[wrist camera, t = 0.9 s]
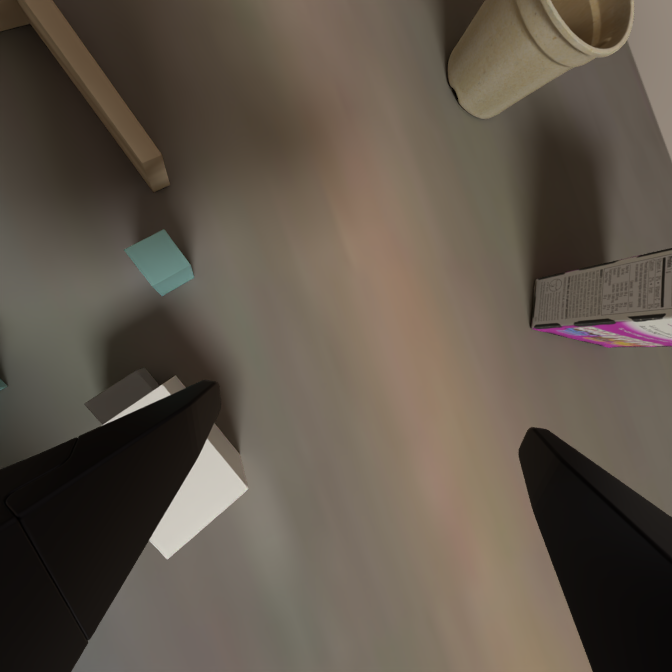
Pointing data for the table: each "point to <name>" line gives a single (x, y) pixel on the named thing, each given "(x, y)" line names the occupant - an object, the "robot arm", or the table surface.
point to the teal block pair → (158, 264)
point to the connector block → (205, 476)
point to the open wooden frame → (89, 83)
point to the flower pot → (531, 47)
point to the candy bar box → (609, 302)
